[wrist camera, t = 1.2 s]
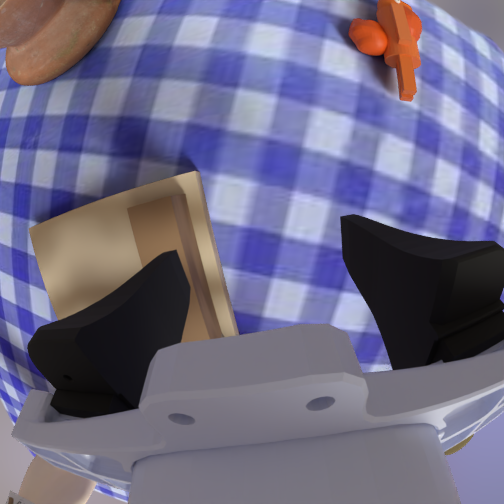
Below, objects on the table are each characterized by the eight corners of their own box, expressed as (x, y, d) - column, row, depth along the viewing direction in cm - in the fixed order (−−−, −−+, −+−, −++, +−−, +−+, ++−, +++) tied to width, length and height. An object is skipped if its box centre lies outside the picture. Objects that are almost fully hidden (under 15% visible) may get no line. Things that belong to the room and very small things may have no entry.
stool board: (244, 354, 25) (243, 395, 20) (93, 368, 26) (70, 399, 20) (199, 172, 21) (182, 167, 16) (40, 225, 22) (2, 236, 16)
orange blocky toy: (444, 92, 14) (417, -12, 12) (354, 79, 17) (339, -22, 14) (428, 108, 19) (409, 13, 16) (353, 99, 21) (342, 6, 19)
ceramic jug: (9, 107, 19) (-76, 93, 5) (38, 13, 15) (-23, -23, 2) (134, 70, 19) (45, -7, 5) (160, -30, 16) (122, -108, 2)
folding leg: (229, 353, 23) (226, 382, 19) (194, 358, 23) (185, 386, 19) (186, 193, 20) (172, 195, 16) (147, 203, 20) (125, 208, 16)
